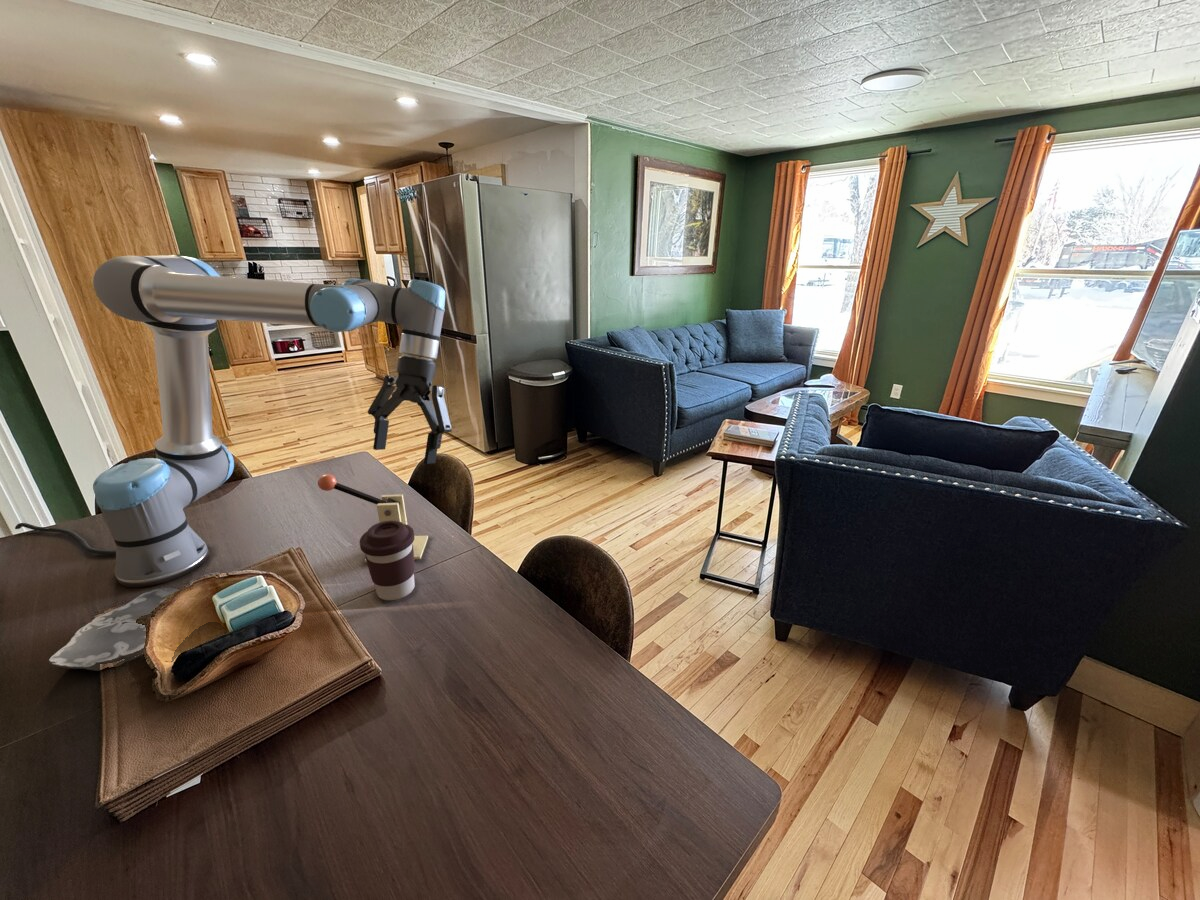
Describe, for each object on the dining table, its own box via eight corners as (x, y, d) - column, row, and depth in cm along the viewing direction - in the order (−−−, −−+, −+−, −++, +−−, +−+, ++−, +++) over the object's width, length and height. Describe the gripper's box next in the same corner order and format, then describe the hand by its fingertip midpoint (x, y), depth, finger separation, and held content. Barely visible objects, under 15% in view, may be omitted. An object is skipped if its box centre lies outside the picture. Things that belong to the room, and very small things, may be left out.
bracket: (365, 564, 106) (355, 510, 101) (377, 542, 115) (368, 491, 109) (420, 561, 108) (413, 508, 103) (428, 539, 116) (421, 489, 111)
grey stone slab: (139, 682, 76) (132, 669, 75) (35, 679, 76) (27, 665, 75) (230, 601, 94) (226, 588, 93) (146, 598, 94) (140, 586, 93)
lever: (312, 489, 101) (318, 476, 100) (319, 482, 104) (324, 469, 103) (392, 519, 106) (398, 506, 105) (396, 511, 109) (402, 498, 108)
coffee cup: (404, 610, 93) (393, 546, 87) (359, 602, 95) (346, 539, 89) (430, 579, 102) (422, 519, 96) (389, 572, 104) (378, 513, 98)
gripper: (478, 369, 99) (462, 467, 101) (384, 351, 107) (372, 443, 109) (456, 365, 92) (440, 470, 94) (357, 346, 99) (345, 444, 102)
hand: (403, 456), depth 102 cm, fingers open, 13 cm apart
